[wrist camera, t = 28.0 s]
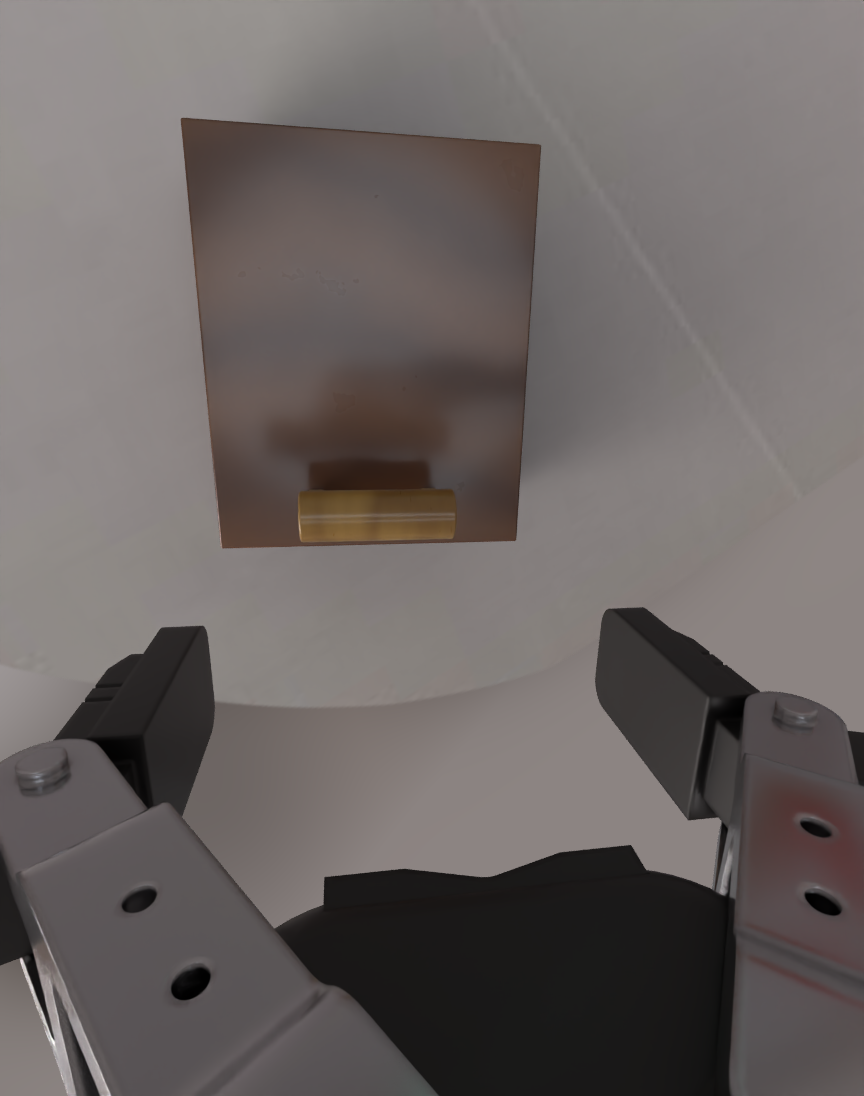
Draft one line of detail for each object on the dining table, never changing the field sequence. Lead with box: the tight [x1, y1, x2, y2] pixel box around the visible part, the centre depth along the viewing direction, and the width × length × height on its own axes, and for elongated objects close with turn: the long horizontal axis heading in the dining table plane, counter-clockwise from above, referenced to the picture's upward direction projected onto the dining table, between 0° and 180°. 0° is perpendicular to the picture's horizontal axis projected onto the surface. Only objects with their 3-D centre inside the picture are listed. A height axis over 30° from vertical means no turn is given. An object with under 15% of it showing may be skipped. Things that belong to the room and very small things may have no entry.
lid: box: [181, 118, 541, 548], centre depth 23 cm, size 16×14×5 cm
